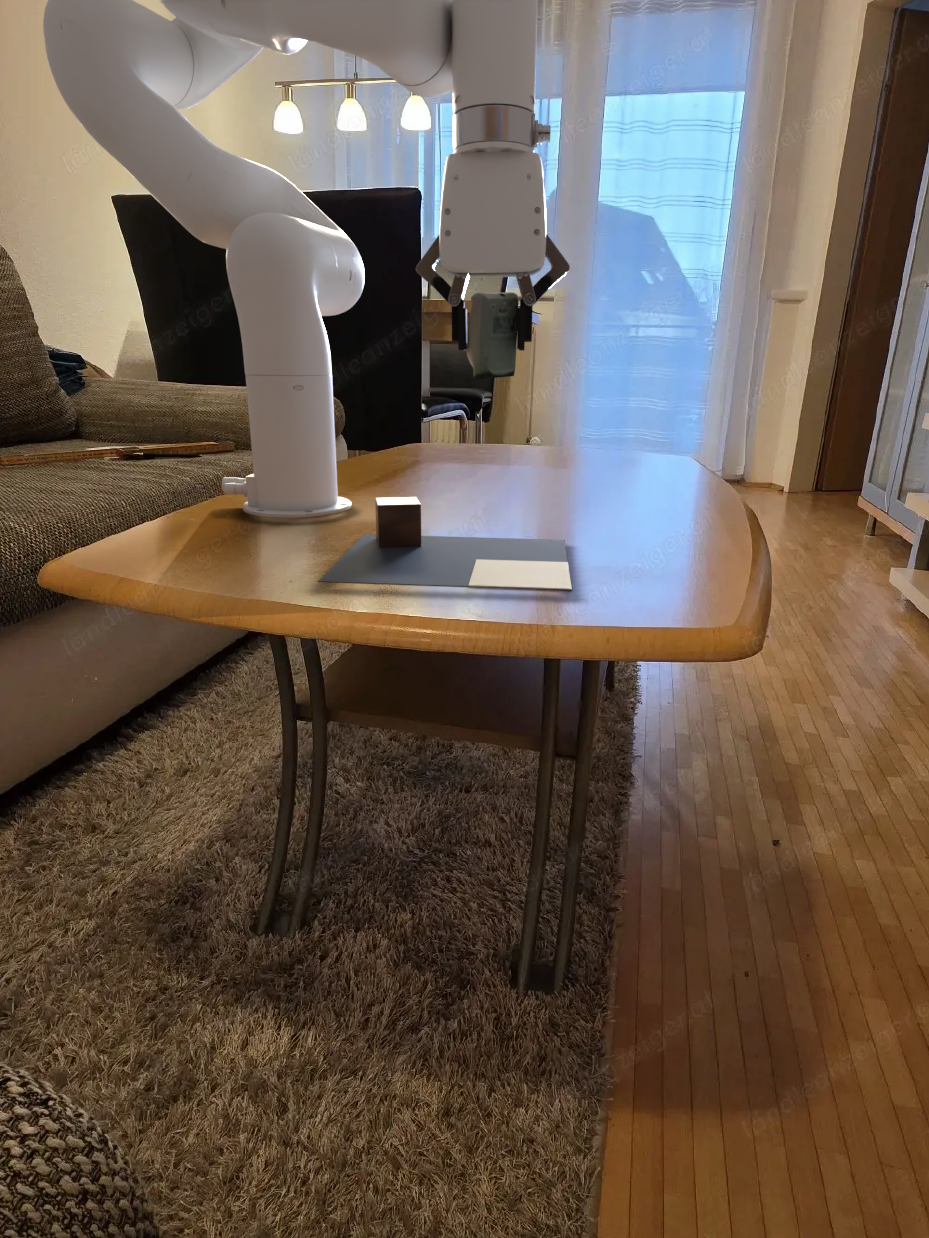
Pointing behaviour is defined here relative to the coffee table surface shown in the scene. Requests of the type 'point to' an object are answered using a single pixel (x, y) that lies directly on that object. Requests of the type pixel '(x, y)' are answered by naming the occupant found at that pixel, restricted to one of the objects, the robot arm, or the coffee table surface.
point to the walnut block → (398, 521)
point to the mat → (457, 563)
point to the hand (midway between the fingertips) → (491, 348)
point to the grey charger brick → (493, 334)
